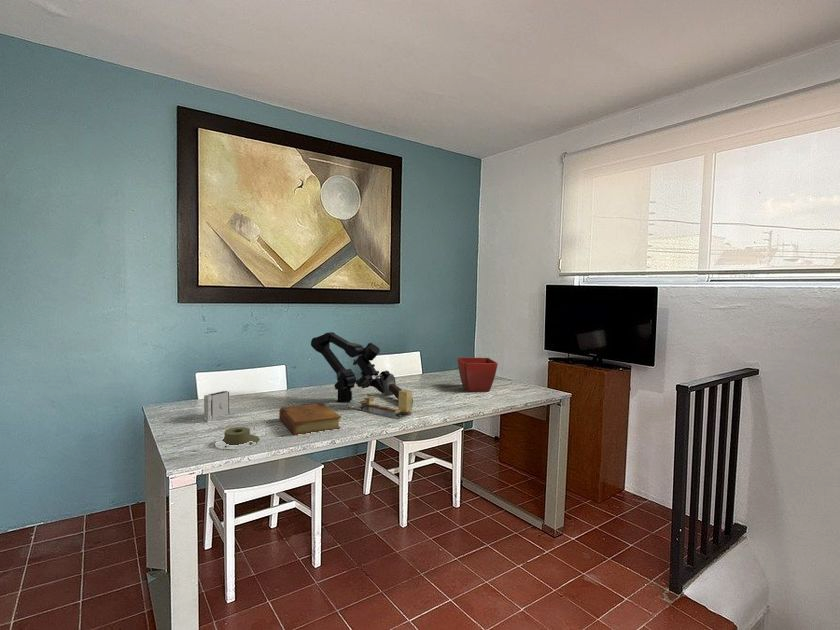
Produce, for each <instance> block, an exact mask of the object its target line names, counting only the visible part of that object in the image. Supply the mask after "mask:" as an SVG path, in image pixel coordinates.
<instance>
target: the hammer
mask: <svg viewBox="0 0 840 630" xmlns="http://www.w3.org/2000/svg"><path fill="white" fill-rule="evenodd" d="M384 389H385V393H383V394H384V395H385V396H394V397H395V398H396V399H397V400H398V401H399V391H401V390H403V389H402V388H400V387H399V386H398V385H396V377H395V375H394V374H393V373H390V375H389V377H388V378H387V379H386V380H385V381H384ZM413 404H414V398H413V397H412V406H414V405H413Z"/></svg>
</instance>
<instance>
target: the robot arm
mask: <svg viewBox="0 0 840 630" xmlns="http://www.w3.org/2000/svg"><path fill="white" fill-rule="evenodd" d="M330 343H331V344H333V345H335V346H337V347H338V348H340V349H342V350H343V351H344V352H345V354H346V355H347V356H348V357H349V358H355V359H353V362H352V365H353V366H356V365H357V366H358V367H359V369H360V370H361V372H360V374H361V377H360V378H358V379H357V377H356V373H354V372H353V370H352V369H351V368H345V367H344V365H343V364H342V363H341V362H340V360H339V358H338V357H337V356H336V354H335V353H334V352H333V350H332V349H331V348H330V347H331V346H330ZM310 346H311V347H312V349H313V350H315V352H318V353H320V354H321V355H322V356H323V358H324V359H325V361H327V363H328V364H329V366H330V367H331V369H332V370H333V372H334V373H335V374H336V380H337V382H336V383H335V384H334V390H337V400H336V402H337V403H351V402H352V400H353V390H352V389H354V387H355V385H356V386H357V387H358V388H362V389H363V390H365V389H367V388H369V387H374V389H376V390H377V391H378V392H380V394H384V393H385V389H384V381H385V380H386V379H387V378H388V377H389V375H390V374H391V373H390V371H389V370H383V371H382V370H381V372H380V371H379V370H376V368H375V364H374V363H373V364H372V362H371V361H374V359H375V358H376V357H377V356H378V355H380V352H381V350H380V348H379V347H378V346H377V344H373V342H368V343H367V345H366V346H365V347H364V346H363V345H362V344H359V343H355V342H351V341H349V340H347V339H345V338H343V337H341V336H340V335H338V334H336V333H335V332H333V331H332V332H331V331H329V332H325V333H323V334H321V335H319V336H316V337H312V338H311V340H310Z"/></svg>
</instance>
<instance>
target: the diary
mask: <svg viewBox="0 0 840 630" xmlns="http://www.w3.org/2000/svg"><path fill="white" fill-rule="evenodd" d="M278 411H279V412H278V413H279V415H278V416H279V418H278V419H279V420H280V421H281V422H282V423H283V424H284V426H285V427H286V428H287V429H288V431H290V433H291V434H292V435H293V436H294V435H296V436H299V435H298V434H303V435H307V434H306V433H310V434H312V433H311V432H316V433H320V432H319V431H323V432H326V431H325V430H330V431H334V430H333V429H337V430H341V429H342V428H341V427H340V426H339V423H340V421H339V420H340V419H341V417H342V416H341V415H340V414H338V413H337V412H336V411H334V410H333V409H332V408H330V407H328V406H327V405H326V404H325V403H324V402H320V403H312V404H302V405H294V406H293V405H292V406H285V407H284V406H283V407H280V409H279V410H278Z"/></svg>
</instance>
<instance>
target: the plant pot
mask: <svg viewBox="0 0 840 630" xmlns="http://www.w3.org/2000/svg"><path fill="white" fill-rule="evenodd" d="M498 364H499V363H498V362H496V361H495V360H492V359H491V358H489V357H457V366H458V367H457V368H458V372H459V376H460V377H459V378H460V381H461V385H462V387H463V388H464V389H465V391H467V392H490V390H491V388H492V386H493V384H494V379H495V377H496V373H497V369H498Z"/></svg>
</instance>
